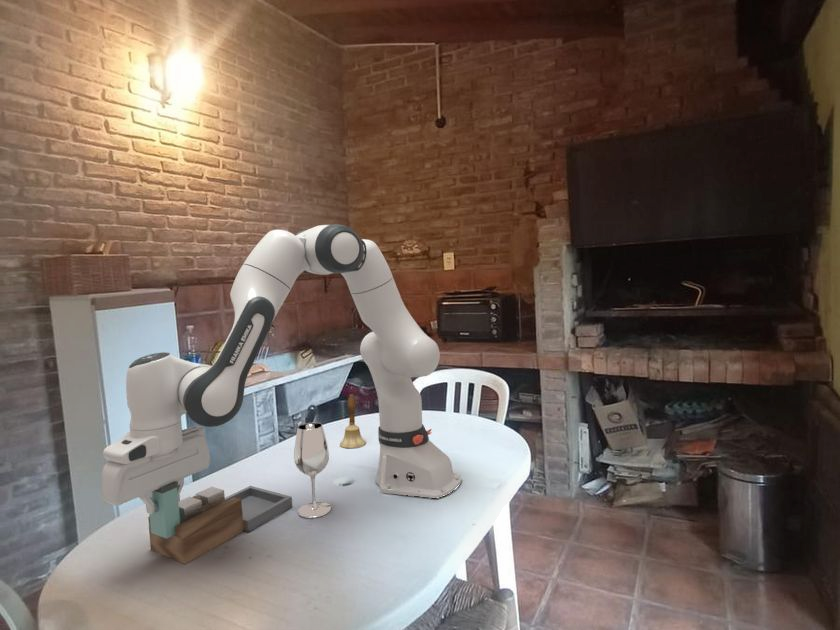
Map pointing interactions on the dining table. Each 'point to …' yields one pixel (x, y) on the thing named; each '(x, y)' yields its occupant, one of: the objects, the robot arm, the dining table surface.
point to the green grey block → (165, 511)
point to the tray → (260, 505)
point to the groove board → (201, 532)
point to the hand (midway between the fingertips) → (163, 507)
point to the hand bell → (352, 428)
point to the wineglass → (311, 463)
